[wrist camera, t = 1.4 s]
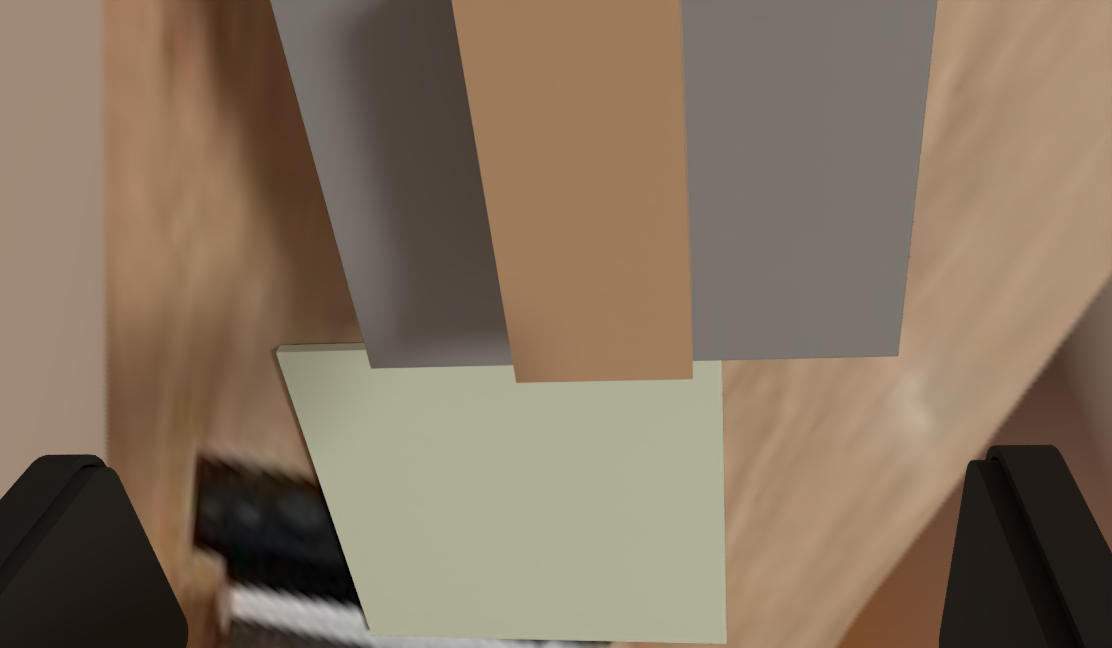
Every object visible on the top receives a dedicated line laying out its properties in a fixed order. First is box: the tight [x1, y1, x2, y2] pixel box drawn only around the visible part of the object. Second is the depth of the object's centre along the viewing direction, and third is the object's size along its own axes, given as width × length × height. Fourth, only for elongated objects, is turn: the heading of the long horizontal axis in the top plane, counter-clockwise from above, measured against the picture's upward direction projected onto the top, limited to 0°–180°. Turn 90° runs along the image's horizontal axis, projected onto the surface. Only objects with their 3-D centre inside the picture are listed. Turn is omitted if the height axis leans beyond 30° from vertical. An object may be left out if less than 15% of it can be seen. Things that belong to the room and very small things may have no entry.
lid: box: [270, 0, 937, 383], centre depth 18 cm, size 13×13×5 cm
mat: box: [276, 343, 727, 644], centre depth 33 cm, size 14×14×1 cm
